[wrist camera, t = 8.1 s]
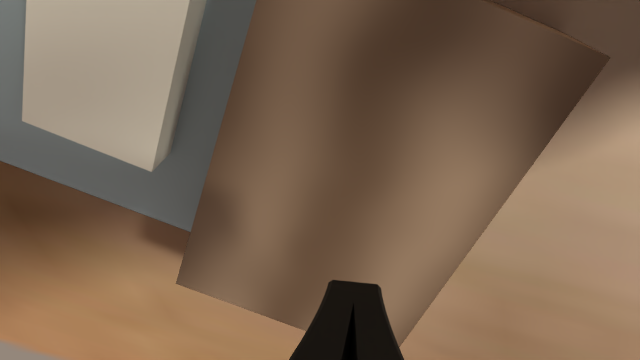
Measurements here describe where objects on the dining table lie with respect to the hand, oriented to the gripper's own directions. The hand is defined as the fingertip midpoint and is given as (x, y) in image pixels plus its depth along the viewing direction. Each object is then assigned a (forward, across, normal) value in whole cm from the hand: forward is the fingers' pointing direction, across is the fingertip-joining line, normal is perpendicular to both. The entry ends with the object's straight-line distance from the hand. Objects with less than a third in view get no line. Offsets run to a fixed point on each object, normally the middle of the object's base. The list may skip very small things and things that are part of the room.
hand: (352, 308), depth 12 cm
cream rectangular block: (+8, +11, -5) cm, 14 cm away
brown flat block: (+10, 0, 0) cm, 10 cm away
